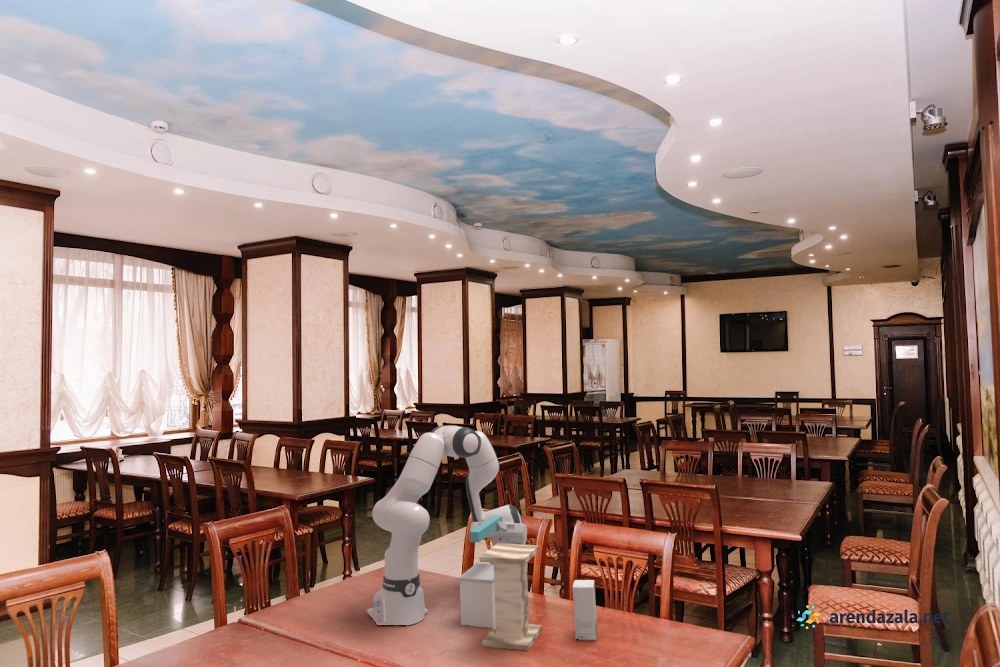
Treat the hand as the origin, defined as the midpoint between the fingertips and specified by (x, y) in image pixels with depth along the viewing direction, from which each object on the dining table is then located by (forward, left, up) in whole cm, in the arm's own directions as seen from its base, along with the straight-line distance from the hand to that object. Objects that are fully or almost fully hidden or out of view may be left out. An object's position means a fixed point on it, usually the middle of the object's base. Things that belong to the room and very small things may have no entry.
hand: (492, 523), depth 230 cm
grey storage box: (+5, -8, -29) cm, 30 cm away
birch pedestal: (+25, -11, -29) cm, 39 cm away
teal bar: (+3, -4, -2) cm, 6 cm away
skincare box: (+38, +7, -29) cm, 48 cm away
